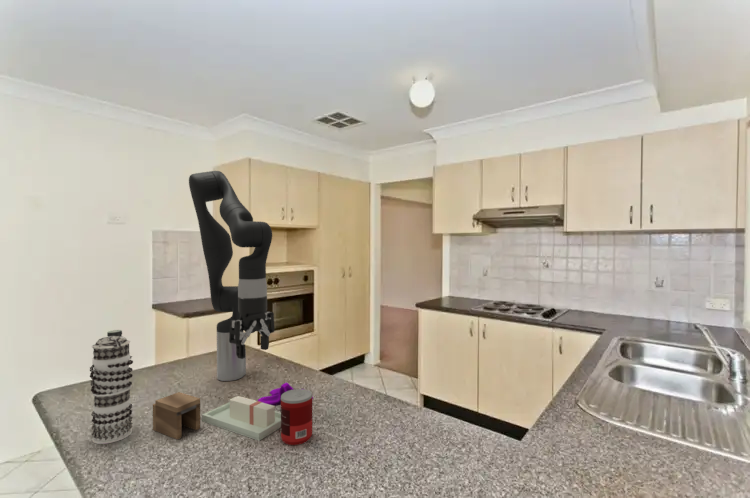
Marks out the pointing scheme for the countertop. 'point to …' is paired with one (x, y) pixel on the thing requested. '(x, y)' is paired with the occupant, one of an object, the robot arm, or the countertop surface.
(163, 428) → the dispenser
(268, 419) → the pink-banded white block
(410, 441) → the countertop surface
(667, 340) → the countertop surface
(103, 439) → the decorative candle
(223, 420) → the tray
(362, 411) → the countertop surface
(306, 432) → the canned food
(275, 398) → the cloth
